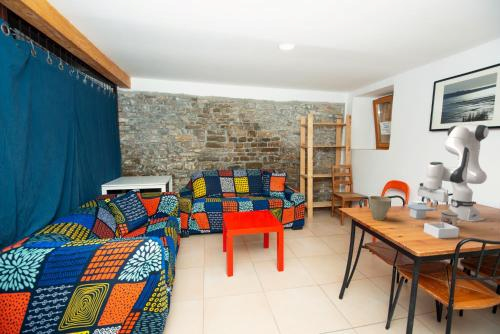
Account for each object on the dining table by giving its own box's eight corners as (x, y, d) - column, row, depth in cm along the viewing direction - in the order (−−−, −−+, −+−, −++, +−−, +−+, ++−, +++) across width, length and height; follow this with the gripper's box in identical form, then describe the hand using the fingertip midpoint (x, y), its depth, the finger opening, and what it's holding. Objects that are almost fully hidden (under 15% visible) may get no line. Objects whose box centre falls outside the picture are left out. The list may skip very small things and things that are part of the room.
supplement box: (425, 219, 173) (427, 202, 171) (415, 218, 173) (417, 202, 171) (418, 215, 180) (419, 200, 179) (409, 215, 180) (410, 200, 179)
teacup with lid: (436, 224, 162) (438, 208, 161) (443, 222, 166) (445, 206, 165) (457, 230, 151) (459, 213, 150) (464, 228, 155) (466, 211, 154)
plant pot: (364, 214, 181) (366, 195, 179) (385, 216, 178) (386, 196, 176) (370, 221, 166) (372, 200, 165) (392, 223, 163) (394, 201, 162)
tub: (442, 230, 150) (443, 222, 149) (458, 237, 140) (459, 228, 139) (423, 231, 148) (424, 222, 148) (438, 238, 138) (439, 228, 138)
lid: (425, 206, 163) (426, 200, 162) (439, 211, 152) (440, 204, 152) (404, 207, 161) (405, 200, 160) (417, 211, 150) (418, 204, 149)
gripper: (452, 188, 145) (449, 209, 147) (424, 182, 166) (422, 201, 167) (443, 189, 145) (441, 210, 146) (416, 182, 165) (414, 201, 166)
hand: (431, 205), depth 157 cm, fingers closed on lid, 2 cm apart
